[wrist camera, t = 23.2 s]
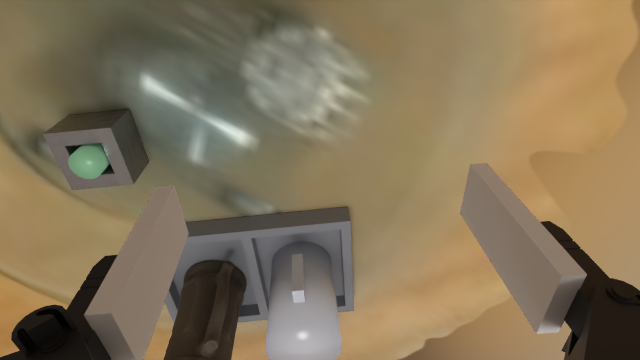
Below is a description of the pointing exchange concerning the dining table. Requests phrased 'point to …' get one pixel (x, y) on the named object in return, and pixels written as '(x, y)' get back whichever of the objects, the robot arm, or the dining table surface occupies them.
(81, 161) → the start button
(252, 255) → the tray
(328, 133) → the dining table surface
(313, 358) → the white piece
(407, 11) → the dining table surface
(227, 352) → the beer stein
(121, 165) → the grey square hollow block
